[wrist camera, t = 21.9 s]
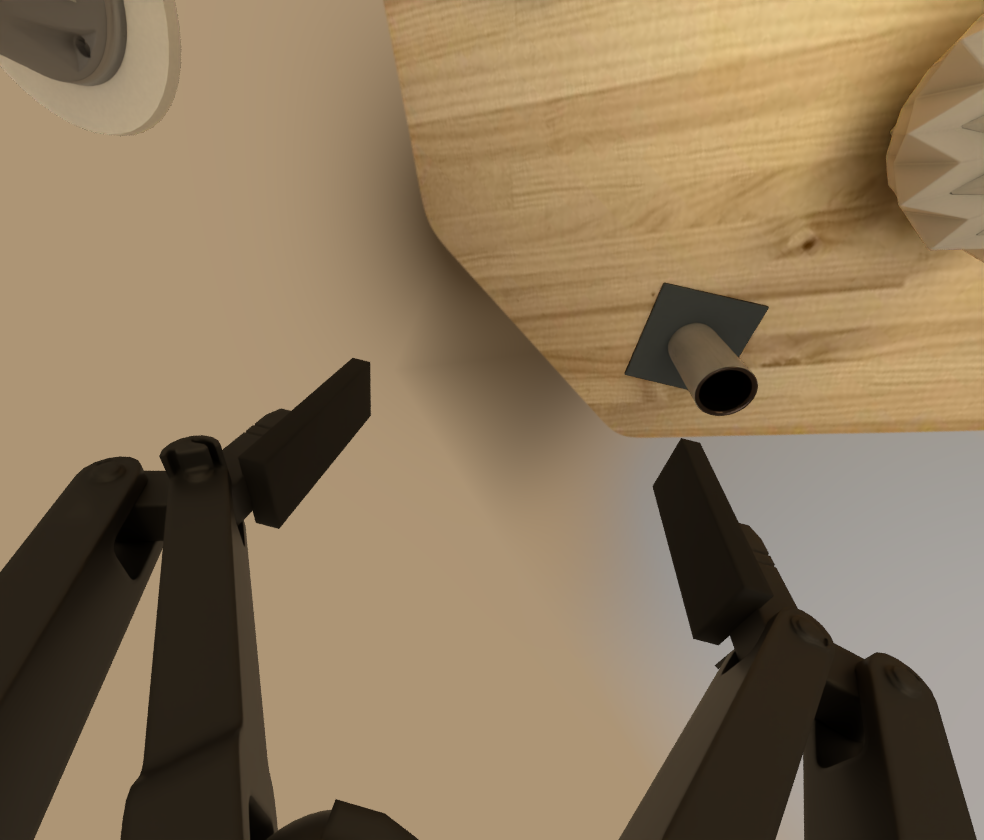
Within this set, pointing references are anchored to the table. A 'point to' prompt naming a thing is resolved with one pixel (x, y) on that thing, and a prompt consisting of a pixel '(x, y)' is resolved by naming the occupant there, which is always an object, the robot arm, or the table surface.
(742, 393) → the beige hollow cylinder
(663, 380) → the mat
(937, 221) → the vase
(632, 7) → the table surface
